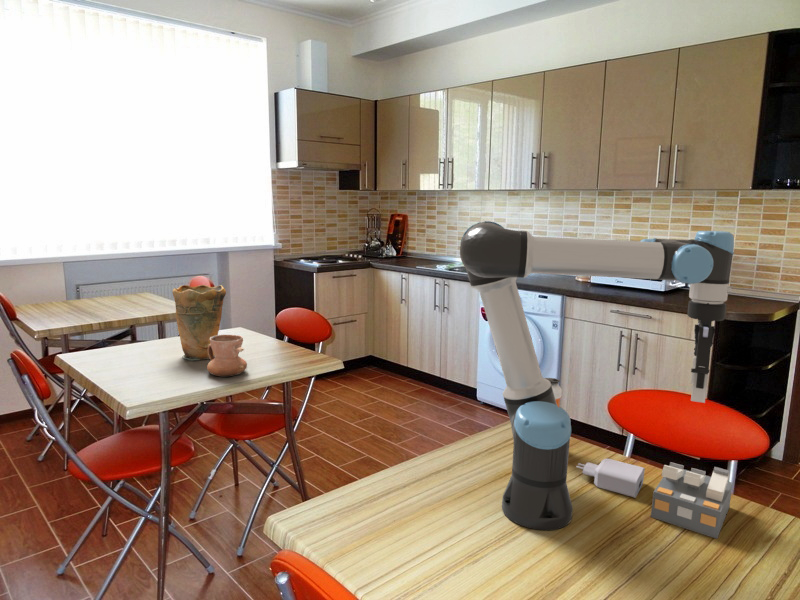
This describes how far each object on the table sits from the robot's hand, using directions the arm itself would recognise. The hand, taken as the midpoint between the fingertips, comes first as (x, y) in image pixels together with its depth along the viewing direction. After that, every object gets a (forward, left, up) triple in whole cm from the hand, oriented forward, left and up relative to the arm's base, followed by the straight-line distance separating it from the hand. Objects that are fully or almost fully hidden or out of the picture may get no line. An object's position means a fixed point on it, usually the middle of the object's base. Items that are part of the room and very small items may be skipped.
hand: (697, 392), depth 132 cm
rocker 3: (-7, -7, -17) cm, 20 cm away
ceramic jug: (-12, +158, -26) cm, 161 cm away
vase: (-5, +185, -26) cm, 187 cm away
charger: (-5, +17, -26) cm, 31 cm away
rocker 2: (-7, -3, -17) cm, 19 cm away
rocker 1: (-7, +2, -17) cm, 19 cm away
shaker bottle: (+3, +37, -26) cm, 45 cm away
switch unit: (-7, -3, -25) cm, 27 cm away
